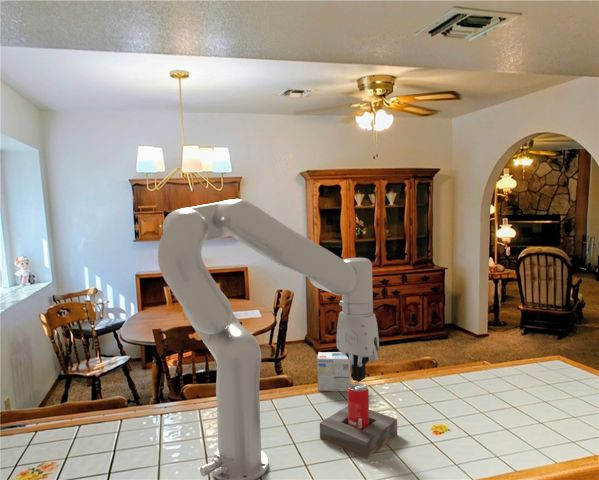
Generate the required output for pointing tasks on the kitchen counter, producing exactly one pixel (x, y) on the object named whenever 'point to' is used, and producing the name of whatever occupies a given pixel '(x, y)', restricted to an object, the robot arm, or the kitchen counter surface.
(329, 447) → the kitchen counter surface
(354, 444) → the socket block
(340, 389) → the light bulb box
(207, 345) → the robot arm
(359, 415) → the beverage can
